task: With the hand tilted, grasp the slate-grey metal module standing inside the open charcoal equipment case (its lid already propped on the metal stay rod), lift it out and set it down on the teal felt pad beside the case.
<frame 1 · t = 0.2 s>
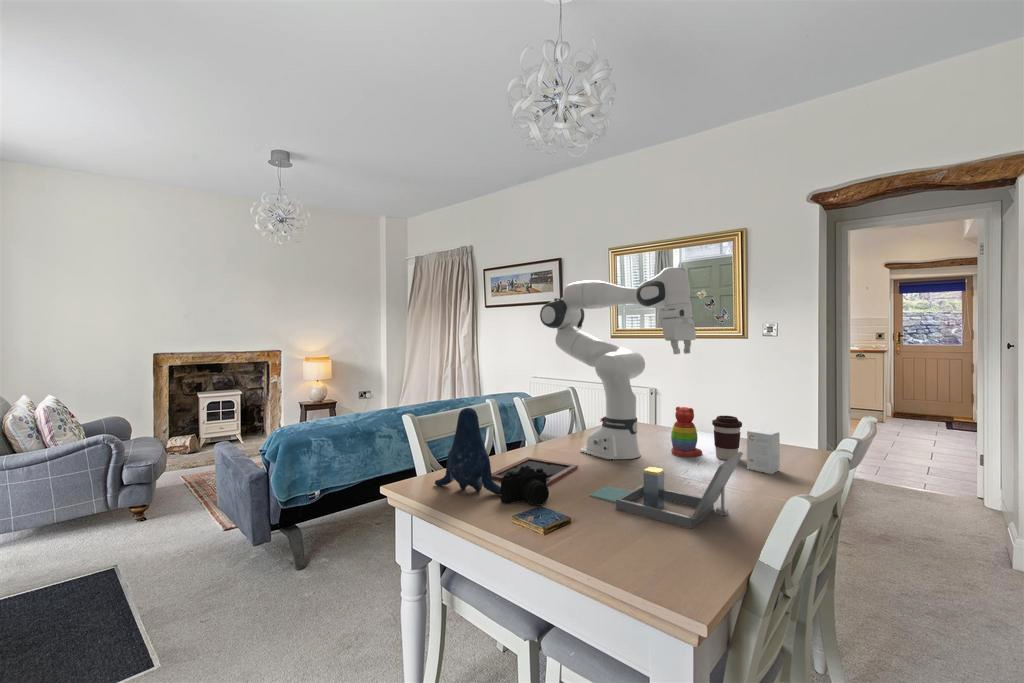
hand: (682, 353, 166), 39 cm above the table, tool pointing down, fingers open, 8 cm apart
film camera: (529, 502, 135), on the table
stacking bear: (684, 454, 183), on the table
small box: (763, 470, 162), on the table
picture frame: (534, 475, 160), on the table
dark blue plush toy: (469, 492, 143), on the table
case: (664, 509, 128), on the table
pad: (613, 495, 139), on the table
coffee cup: (726, 458, 177), on the table
module: (653, 506, 130), resting in case
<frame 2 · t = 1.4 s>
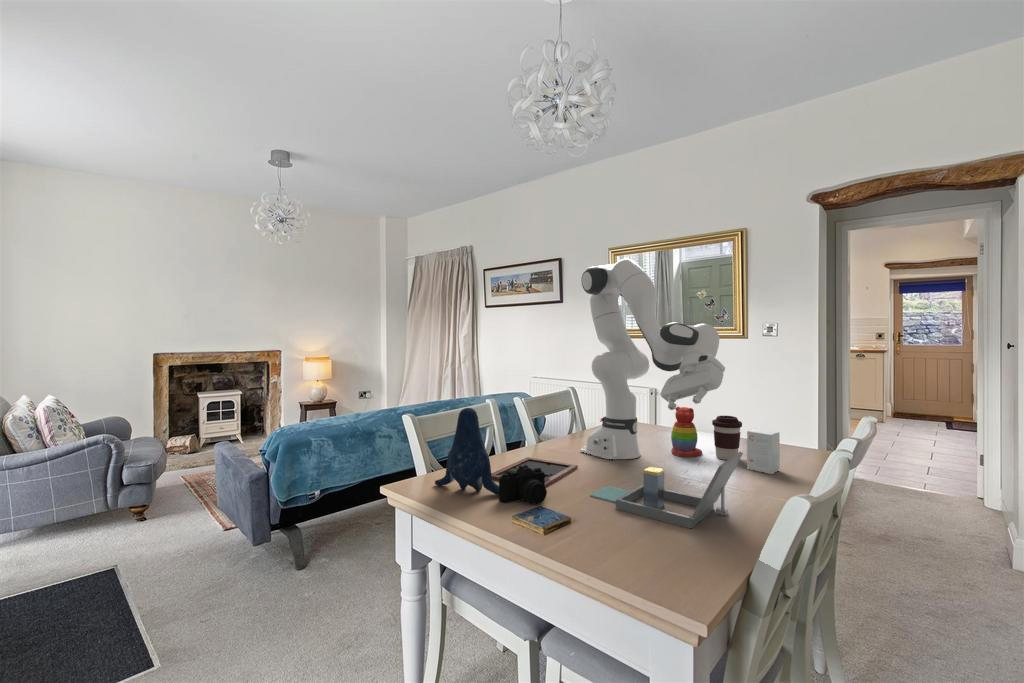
hand: (683, 405, 140), 25 cm above the table, tool tilted 45°, fingers open, 8 cm apart
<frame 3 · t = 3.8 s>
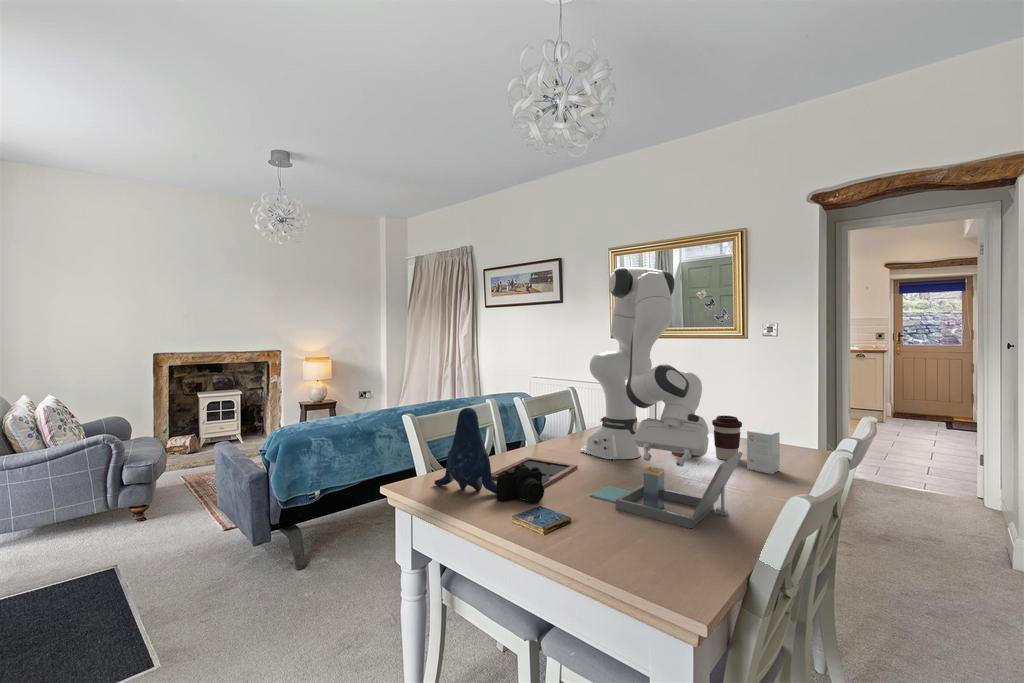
hand: (662, 462, 133), 11 cm above the table, tool tilted 45°, fingers open, 8 cm apart
film camera: (525, 500, 137), on the table
everything else where it was.
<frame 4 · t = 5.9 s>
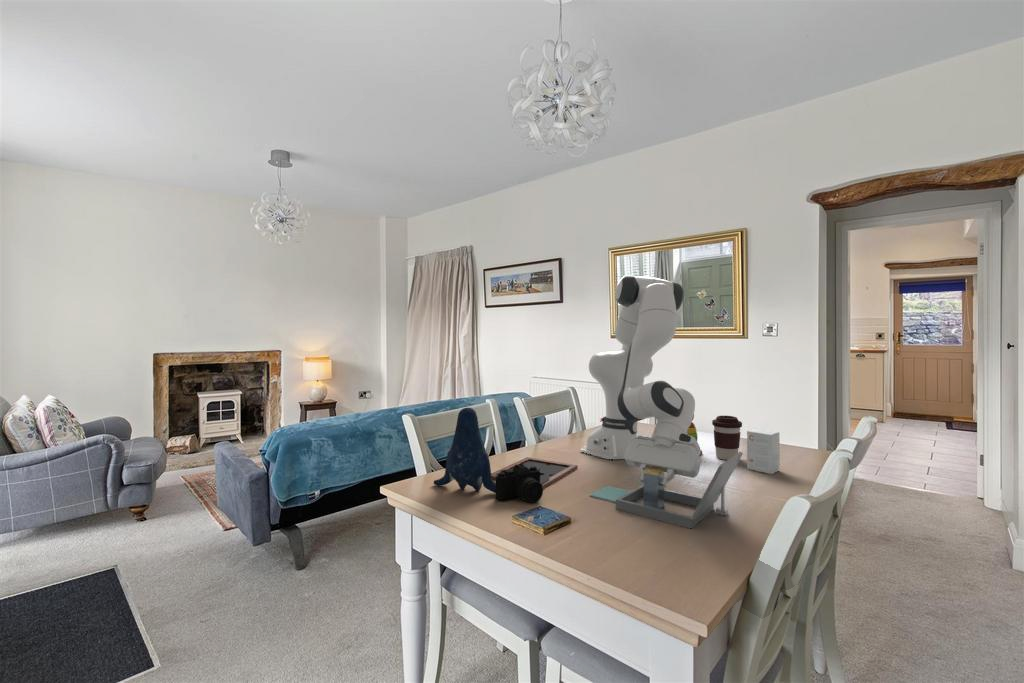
hand: (652, 483, 129), 6 cm above the table, tool tilted 45°, fingers closed on module, 4 cm apart
module: (653, 506, 130), resting in case, touching gripper
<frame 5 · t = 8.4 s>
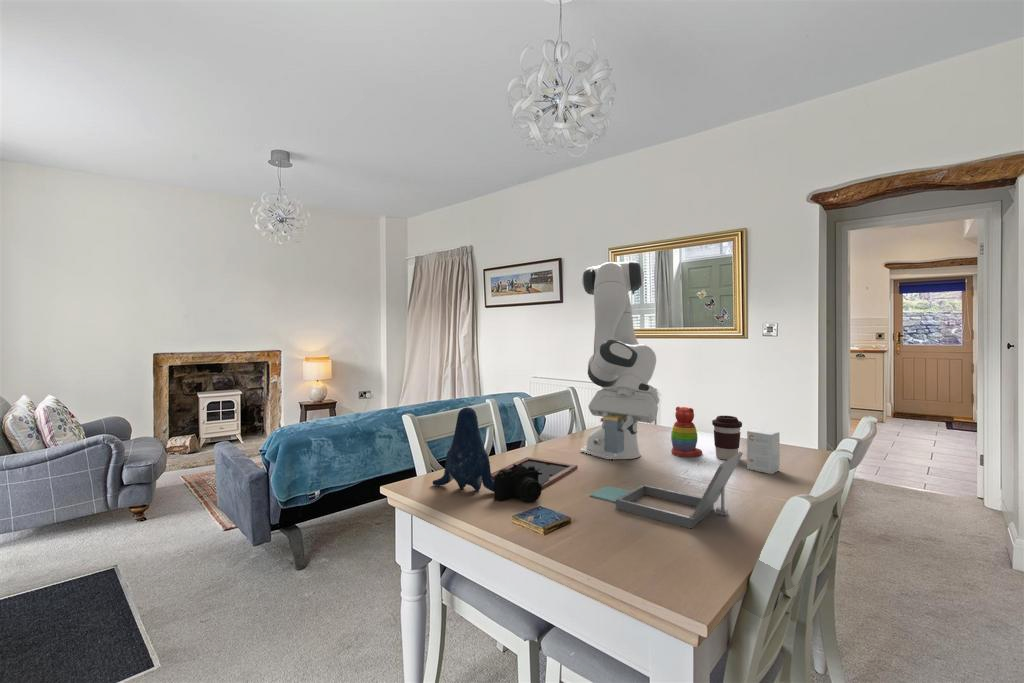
hand: (613, 429, 138), 19 cm above the table, tool tilted 45°, fingers closed on module, 4 cm apart
module: (614, 451, 139), point 13 cm above the table, touching gripper
when the fingers open (8 cm above the table, at t = 10.8 s): module drops 2 cm, resting on pad.
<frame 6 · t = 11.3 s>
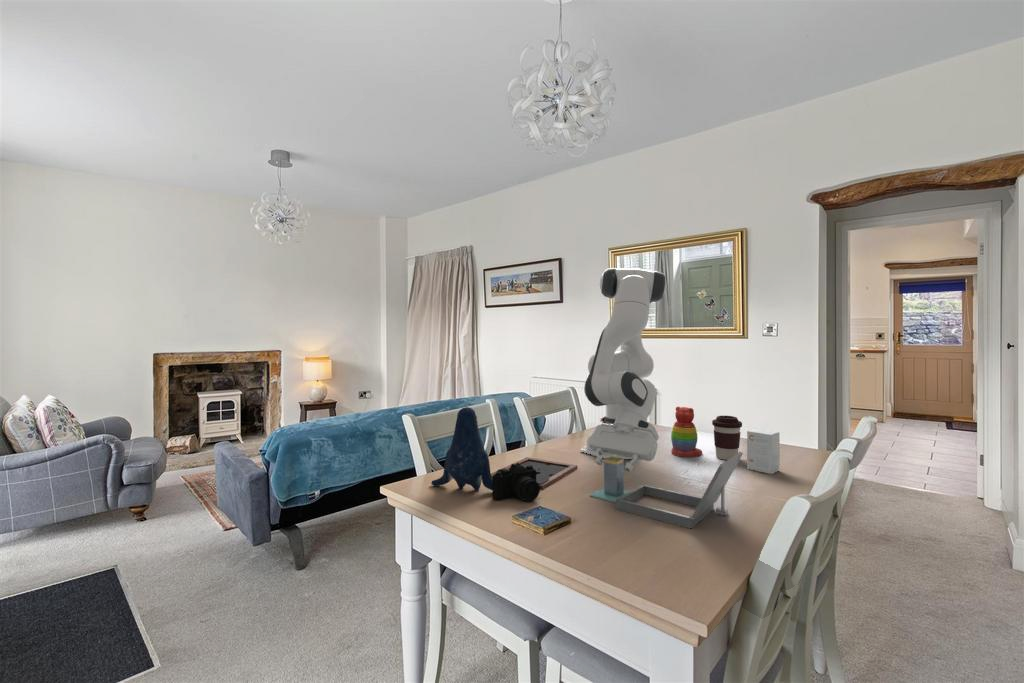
hand: (612, 466, 138), 8 cm above the table, tool tilted 45°, fingers open, 8 cm apart
module: (613, 493, 139), resting on pad
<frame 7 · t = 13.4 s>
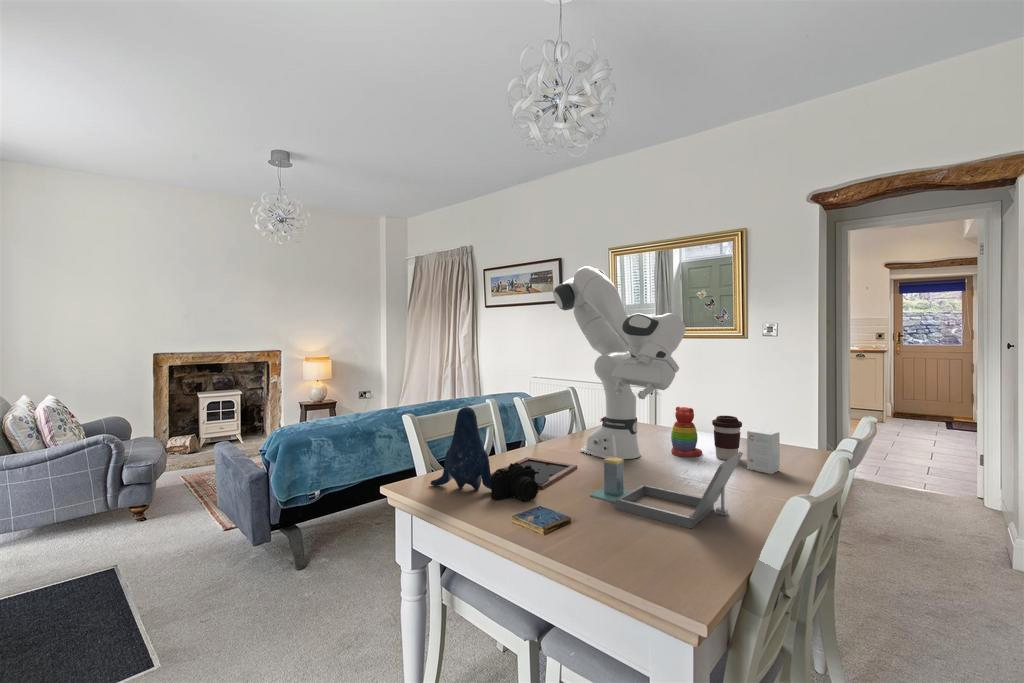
hand: (628, 395, 141), 28 cm above the table, tool tilted 45°, fingers open, 8 cm apart
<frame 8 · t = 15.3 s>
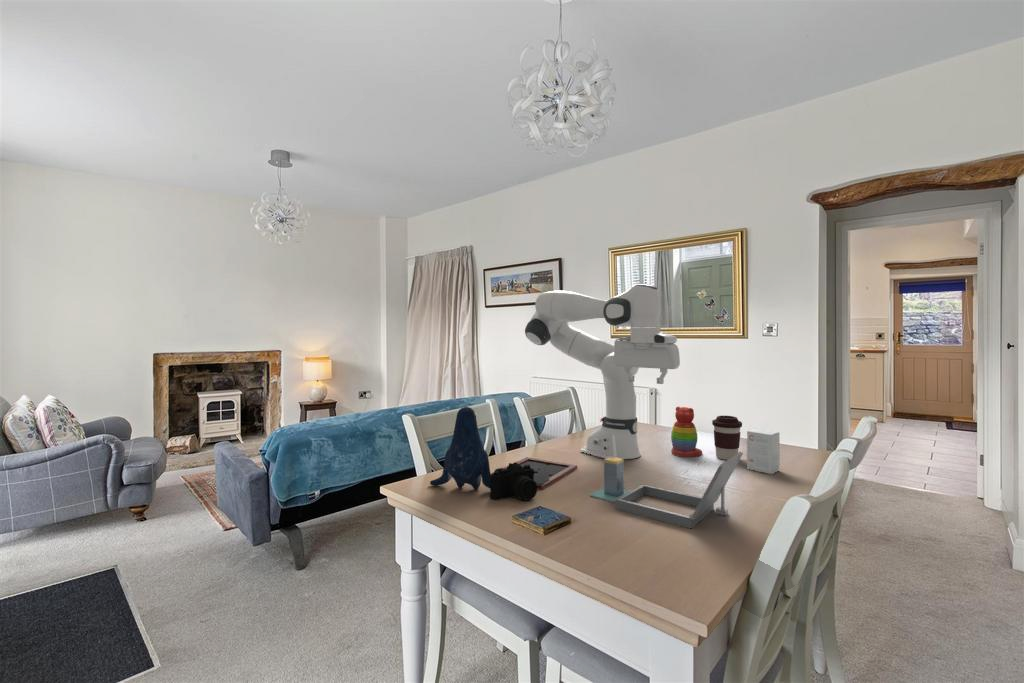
hand: (645, 382, 148), 31 cm above the table, tool pointing down, fingers open, 8 cm apart
at the end: module inside the target area on the pad (0.1 cm from its centre), point 0.4 cm above the pad's base; module tilted 0°; the gripper is holding nothing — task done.
